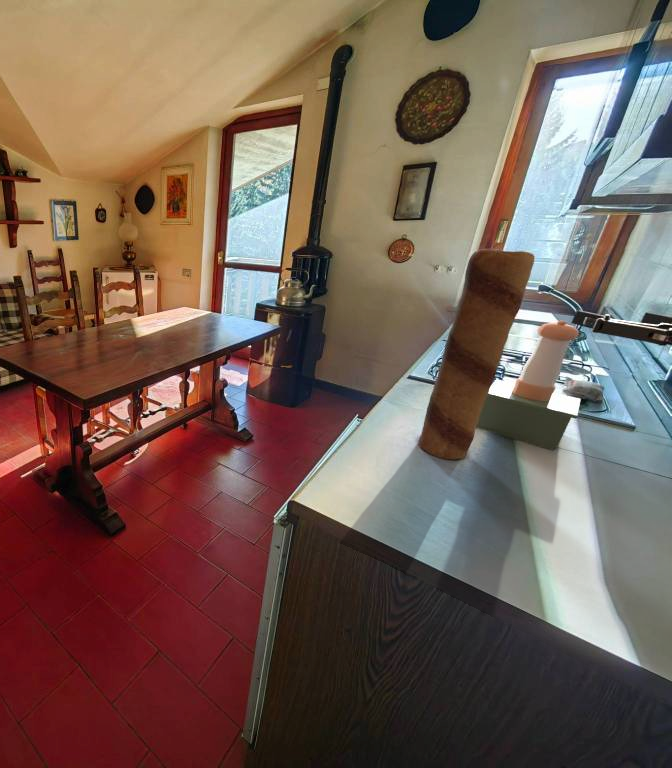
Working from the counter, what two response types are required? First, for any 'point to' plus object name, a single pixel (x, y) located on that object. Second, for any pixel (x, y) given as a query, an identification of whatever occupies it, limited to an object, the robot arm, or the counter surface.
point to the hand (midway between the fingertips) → (609, 317)
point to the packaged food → (584, 390)
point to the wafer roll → (474, 349)
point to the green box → (522, 422)
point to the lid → (554, 405)
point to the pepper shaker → (545, 362)
